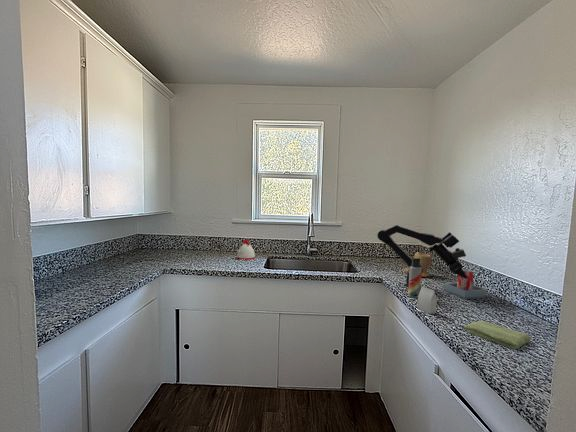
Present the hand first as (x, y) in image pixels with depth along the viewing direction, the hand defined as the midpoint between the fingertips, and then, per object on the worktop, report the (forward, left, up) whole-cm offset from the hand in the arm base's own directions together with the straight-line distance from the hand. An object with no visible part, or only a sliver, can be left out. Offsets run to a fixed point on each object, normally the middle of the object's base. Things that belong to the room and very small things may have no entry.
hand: (465, 275), depth 156 cm
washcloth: (-29, -42, -10) cm, 52 cm away
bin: (0, 0, -10) cm, 10 cm away
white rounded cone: (-104, +105, -10) cm, 148 cm away
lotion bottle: (-30, +2, -10) cm, 32 cm away
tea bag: (-37, -16, -10) cm, 41 cm away
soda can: (0, 0, -9) cm, 9 cm away
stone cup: (+2, +38, -10) cm, 39 cm away
